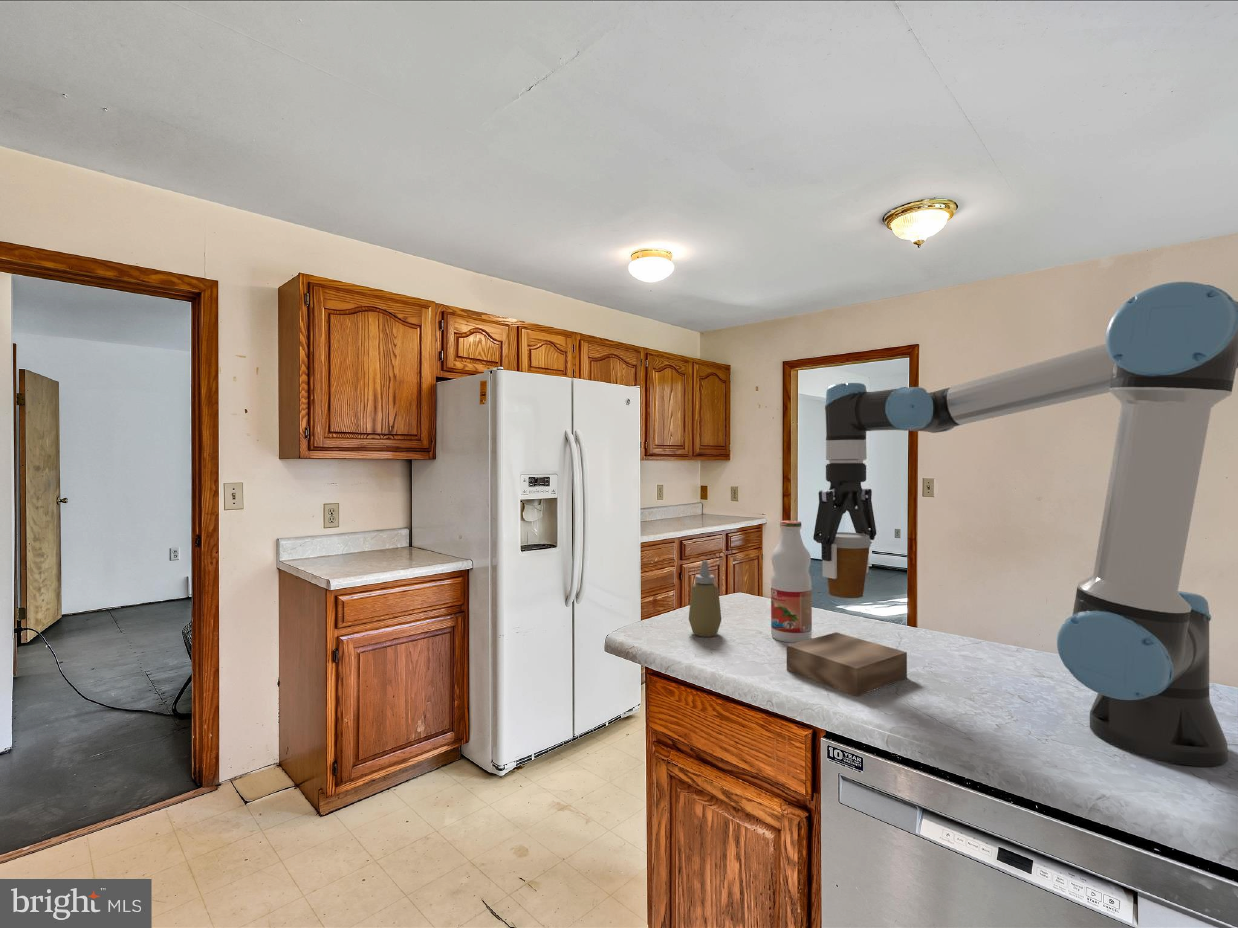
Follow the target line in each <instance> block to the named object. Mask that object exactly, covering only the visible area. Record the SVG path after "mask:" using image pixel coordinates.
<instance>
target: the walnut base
mask: <svg viewBox="0 0 1238 928" xmlns="http://www.w3.org/2000/svg"><path fill="white" fill-rule="evenodd" d="M786 671H789V672H791V673H794V674H796V675H799V676H801V677H805V678H807V679H810V680H813V681H815V682H818V683H821V684H823V685H825V686H828V687H832V688H834V689H837V690H839V691H841V692H845V693H847V694H849V695H852V696H855V697H859V696H862V695H864V694H867V693H869V692H868V691H870V692H872V690H873V691H875V690H878V689H880V687H881V688H884V687H886V686H888V685H891V684H894V683H897V682H900V681H903V680H904V679H907V678H908V651H904V650H902V649H901V650H900V649H897V648H893V647H890V646H887V645H882V644H879V643H876V642H872V641H868V640H865V639H861V638H858V637H855V636H851V635H847V634H844V633H840V632H833V633H829V634H825V635H820V636H817V637H813V638H811V639H809V640H805V641H801V642H797V643H790V644H787V645H786ZM877 688H878V689H877ZM874 689H875V690H874ZM861 694H862V695H861Z"/></svg>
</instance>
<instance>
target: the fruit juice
mask: <svg viewBox="0 0 1238 928" xmlns="http://www.w3.org/2000/svg"><path fill="white" fill-rule="evenodd" d="M779 526H780V529H781V532H780V537H779V540H778V543H777V545H776V546H775V547H774V549H773V550H772V553H771V556H770V557H771V558H770V560H771V564H772V568H773V570H772V573H771V577H770V633H771V636H772V638H773V639H774V640H777V641H779V642H784V643H788V644H789V643H790V644H794V643H797V642H801V641H805V640H809V639H812V635H813V634H812V633H813V631H812V630H813V625H812V624H813V623H812V622H813V619H812V618H813V617H812V613H813V609H812V607H813V606H812V605H813V603H812V601H813V600H812V599H813V597H812V595H813V593H812V591H813V590H812V589H813V587H812V577H811V574H810V566H811V563H812V562H811V560H812V559H811V558H812V557H811V554H810V552H809V550H808V549H807V548H806V546H805V544H804V542H803V538H802V536H801V529H802V521H800V520H781V521H780V522H779Z"/></svg>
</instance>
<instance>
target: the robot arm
mask: <svg viewBox="0 0 1238 928" xmlns="http://www.w3.org/2000/svg"><path fill="white" fill-rule="evenodd" d="M1107 325H1108V326H1107V328H1106V331H1105V332H1106V333H1105V343H1103V344H1099V345H1096V346H1092V347H1088V348H1085V349H1081V350H1078V351H1075V352H1071V353H1068V354H1064V355H1060V356H1057V357H1052V358H1050V359H1049V358H1048V359H1046V360H1042V361H1039V362H1035V363H1031V364H1028V365H1027V364H1026V365H1025V366H1020V367H1016V368H1013V369H1010V370H1007V371H1003V372H999V373H996V374H992V375H990V376H985V377H981V378H977V379H974V380H971V381H967V382H964V383H961V384H960V383H959V384H957V385H953V386H951V387H946V388H943V389H939V390H935V391H931V392H928V391H927V389H925V388H923V387H921V386H915V387H914V386H909V387H908V386H903V387H899V388H893V389H884V390H883V389H882V390H877V391H867V386H866V385H865V384H864V383H861V382H846V383H834V384H832V385H829V386H828V388H826V391H825V393H826V395H825V405H824V410H825V431H826V432H825V434H826V435H825V459H826V461H828V463H826V464H825V481H827V482H829V483H830V484H829V485H830V486H829V489H828V490H822V489H821V490H818V507H817V513H816V520H815V526H814V531H813V539H812V540H813V541H814V542H816V543H817V544H820V545H821V560H822V568H821V569H822V576H821V577H823V578H827V577H828V578H833V579H836V578H837V545H836V544H833V543H834V540H835V537H836V534H837V532H839V531H838V530H839V527H840V524H841V521H842V519H843V515H844V514H845V513H848V514H849V516H850V520H851V523H852V525H853V526H852V527H853V528H854V531H855V532H854V533H861V534H866V535H869V537H870V541H874V540H875V538H876V536H877V526H876V521H875V515H874V509H873V503H872V497H873V495H872V494H873V490H872V489H871V488H862V483H865V482H866V480H867V464H866V463H864V461H866V460H867V458H868V457H867V456H868V455H867V432H873V431H874V432H876V431H879V432H880V431H904V432H905V431H906V432H907V431H909V432H923V433H924V432H926V433H933V434H937V433H942V432H943V433H944V432H948V431H951V430H952V429H954V428H955V427H958V426H962V425H966V424H972V423H975V422H979V421H980V422H981V421H985V420H989V419H990V420H991V419H994V418H998V417H1003V416H1006V415H1012V414H1016V413H1023V412H1025V411H1029V410H1034V409H1040V408H1044V407H1048V406H1053V405H1057V404H1063V403H1067V402H1071V401H1077V400H1080V399H1085V398H1090V397H1095V396H1099V395H1103V394H1108V393H1110V394H1112V396H1114V397H1115V398H1116V399H1117V400H1118V401H1119V403H1120V404H1121V405H1120V412H1119V417H1118V425H1117V428H1116V435H1115V436H1116V438H1115V442H1114V446H1113V447H1114V448H1113V453H1112V454H1113V455H1112V461H1111V467H1110V470H1109V471H1110V473H1109V477H1108V478H1109V479H1108V483H1107V484H1108V485H1107V490H1106V497H1105V502H1104V509H1103V514H1102V519H1101V525H1100V531H1099V537H1098V538H1099V539H1098V545H1097V549H1096V556H1095V563H1094V568H1093V574H1092V575H1091V576H1089V577H1087V578H1085V579H1084V580H1081V581H1079V582H1078V583H1077V586H1076V593H1075V598H1074V604H1073V609H1072V610H1073V611H1072V616H1069V617H1068V618H1066V619H1065V621H1064V623H1063V624H1062V625H1061V627H1060V629H1059V631H1058V633H1057V637H1056V647H1057V653H1058V655H1059V656H1058V657H1060V661H1061V662H1062V664H1063V666H1064V667H1065V668H1066V669H1067V670H1068V672H1069V673H1070V674H1071V675H1072V676H1073V677H1074V678H1075V679H1076V681H1078V682H1079V683H1081V685H1083V686H1085V687H1086V688H1088V689H1089V690H1091V691H1093V692H1095V693H1097V695H1096V696H1095V698H1094V702H1093V703H1092V706H1091V709H1090V711H1089V729H1090V730H1091V732H1092V733H1093V734H1095V735H1096V736H1097V737H1099V738H1100V739H1102V740H1104V741H1105V742H1107V743H1109V744H1110V745H1113V746H1115V747H1117V748H1120V749H1122V750H1125V751H1128V752H1130V753H1133V754H1136V755H1139V756H1142V757H1146V758H1149V759H1153V760H1156V761H1157V760H1158V761H1161V762H1166V763H1171V764H1177V765H1183V766H1184V765H1185V766H1192V767H1193V766H1194V767H1214V766H1216V767H1217V766H1220V765H1223V764H1225V763H1226V762H1227V761H1228V758H1229V756H1228V742H1227V738H1226V736H1225V734H1224V731H1223V729H1222V726H1221V724H1220V722H1219V719H1218V717H1217V715H1216V712H1215V710H1214V708H1213V706H1212V703H1211V699H1210V622H1211V620H1212V616H1211V614H1210V606H1209V603H1208V600H1207V599H1206V598H1205V597H1204V596H1202V595H1200V594H1197V593H1193V592H1188V591H1180V590H1179V587H1180V580H1181V576H1182V569H1183V563H1184V558H1185V553H1186V548H1187V542H1188V538H1189V531H1190V525H1191V521H1192V514H1193V509H1194V505H1195V498H1196V495H1197V494H1196V493H1197V488H1198V483H1199V476H1200V471H1201V467H1202V466H1201V465H1202V460H1203V455H1204V450H1205V443H1206V439H1207V433H1208V427H1209V423H1210V422H1209V421H1210V417H1211V412H1212V408H1213V407H1214V406H1215V405H1216V404H1219V403H1220V402H1221V401H1223V400H1225V399H1227V398H1228V397H1230V396H1231V395H1232V393H1233V388H1234V387H1233V386H1234V383H1235V378H1236V377H1235V376H1236V371H1237V369H1238V301H1237V300H1235V299H1233V297H1232V296H1231V295H1229V294H1228V293H1227V292H1226V291H1225V290H1223V289H1221V288H1219V287H1216V286H1215V285H1212V284H1211V285H1210V284H1204V283H1200V282H1199V283H1198V282H1193V281H1173V282H1165V283H1162V284H1158V285H1155V286H1153V287H1149V288H1147V289H1145V290H1143V291H1140V292H1139V293H1137V294H1136V295H1134V296H1132V297H1131V298H1129V300H1127V301H1126V302H1124V303H1123V304H1122V305H1121V306H1120V307H1119V308H1118V309H1117V310H1116V312H1115V313H1114V314H1113V315H1112V317H1111V318H1110V321H1109V323H1108V324H1107ZM828 536H829V538H828ZM869 557H870V553H869V554H868V562H867V569H866V574H868V573H870V572H869V567H870V566H869V565H870V562H869V559H870V558H869Z"/></svg>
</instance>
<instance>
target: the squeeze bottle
mask: <svg viewBox="0 0 1238 928" xmlns="http://www.w3.org/2000/svg"><path fill="white" fill-rule="evenodd" d="M709 568H710V567H709V562H708V560H702V561H701V566H700V571H699V574H696V575H695V580H694V581H695V583H693V584H692V585H691V591H690V599H689V600H690V602H689V610H688V611H689V612H688V621H689V622H688V623H690V624H689V625H690V627H691V631H692V634H694V635H695V636H699V637H706V638H707V637H714V636H716V635H718V633H719V629H720V626H721V623H722V613H721V611H722V610H721V603H720V602H721V600H720V593H719V592H720V591H719V586H718V585H717V584H716V583H715V575H714V574H711V573H710V569H709Z"/></svg>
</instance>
